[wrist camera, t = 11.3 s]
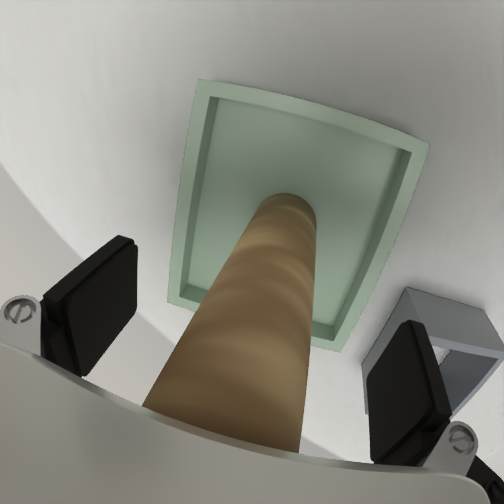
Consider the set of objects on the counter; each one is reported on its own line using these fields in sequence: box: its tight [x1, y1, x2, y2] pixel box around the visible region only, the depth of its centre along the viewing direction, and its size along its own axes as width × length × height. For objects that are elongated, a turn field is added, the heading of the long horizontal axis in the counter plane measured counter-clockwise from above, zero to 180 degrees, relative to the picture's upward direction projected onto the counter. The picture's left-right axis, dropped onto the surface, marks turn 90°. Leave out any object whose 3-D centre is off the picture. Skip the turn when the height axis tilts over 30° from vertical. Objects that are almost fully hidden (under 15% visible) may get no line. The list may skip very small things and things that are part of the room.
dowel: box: [142, 193, 317, 453], centre depth 12 cm, size 4×4×14 cm
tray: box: [167, 79, 430, 352], centre depth 18 cm, size 12×14×2 cm
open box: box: [361, 287, 504, 420], centre depth 18 cm, size 8×8×5 cm
